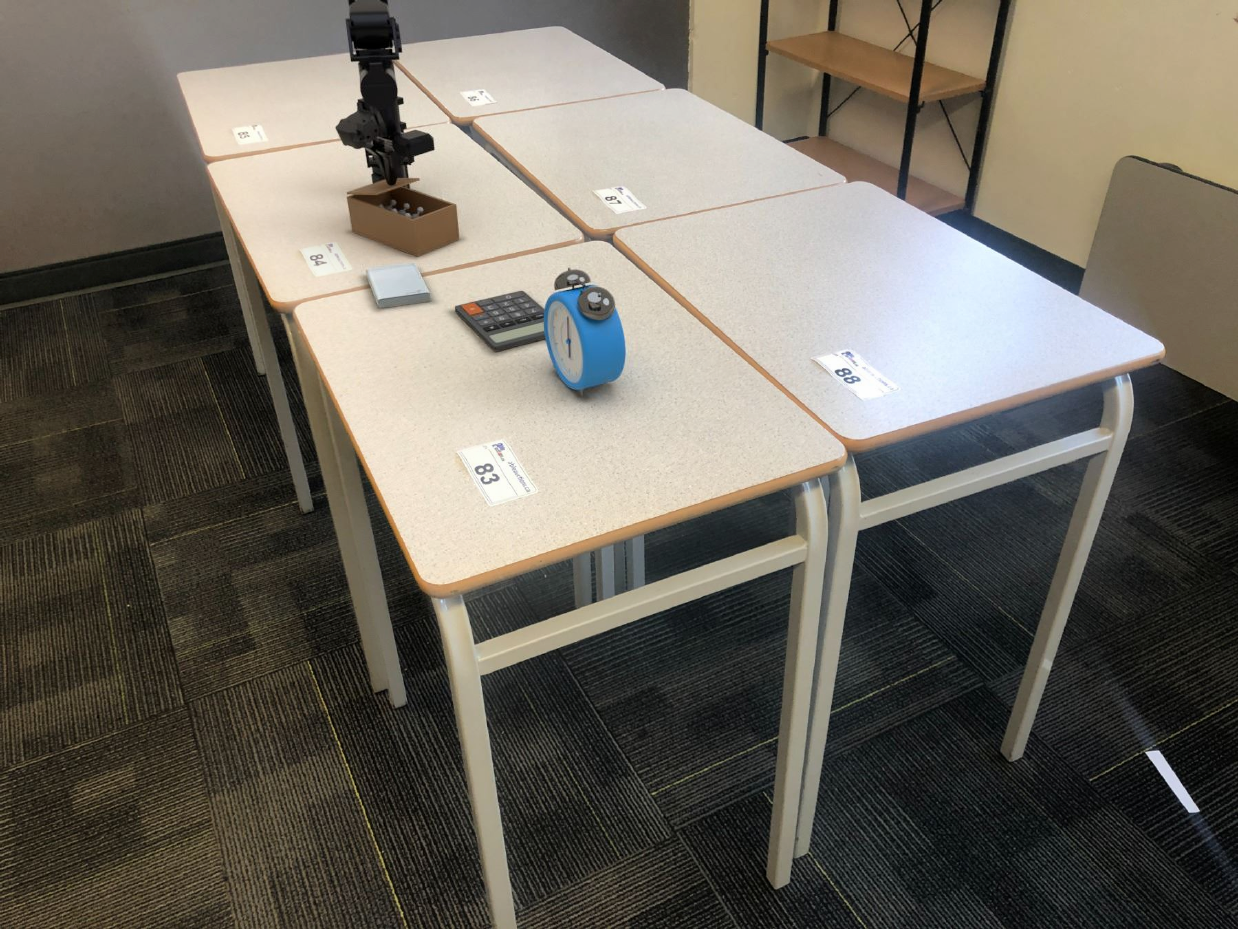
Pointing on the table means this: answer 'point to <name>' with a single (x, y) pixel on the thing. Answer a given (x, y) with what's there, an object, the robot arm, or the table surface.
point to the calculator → (505, 319)
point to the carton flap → (382, 187)
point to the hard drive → (397, 285)
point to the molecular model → (402, 212)
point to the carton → (405, 220)
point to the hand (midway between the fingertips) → (391, 184)
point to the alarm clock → (583, 332)
